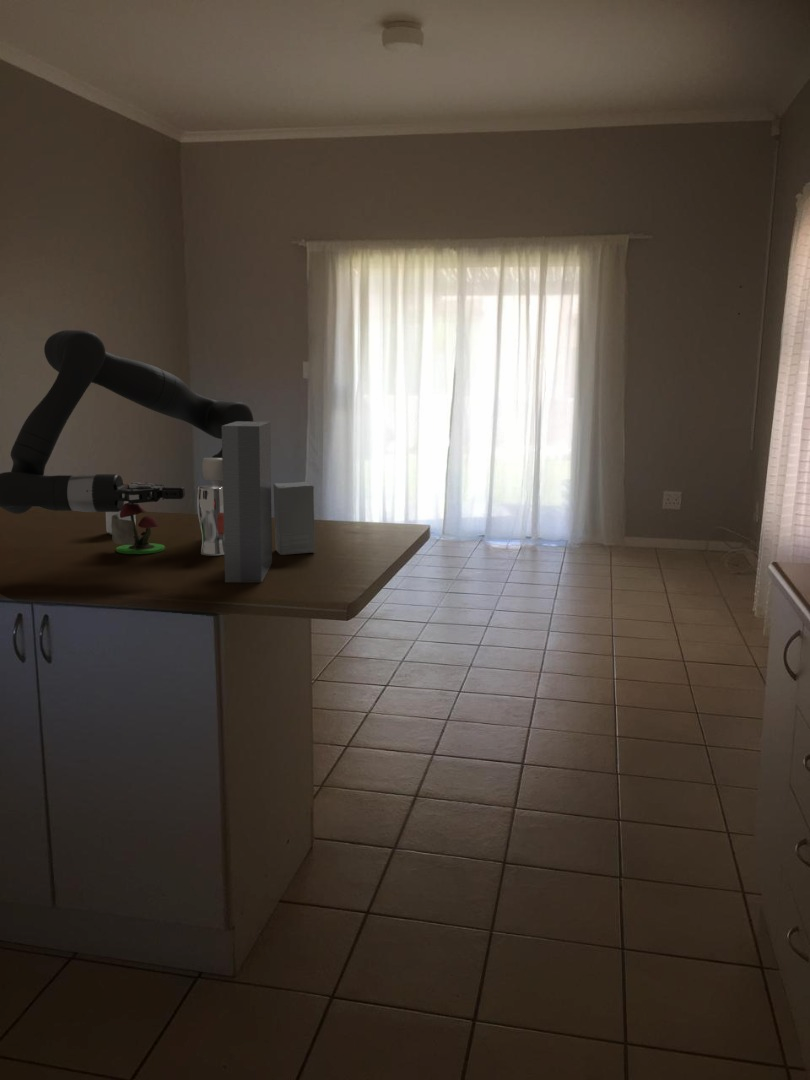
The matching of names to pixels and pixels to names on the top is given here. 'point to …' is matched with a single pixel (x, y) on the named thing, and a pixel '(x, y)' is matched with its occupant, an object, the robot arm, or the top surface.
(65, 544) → the top surface
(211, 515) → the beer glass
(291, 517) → the skincare box
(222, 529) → the red button
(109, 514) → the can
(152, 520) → the mushroom figurine
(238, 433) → the tall grey block
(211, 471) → the white cylinder
